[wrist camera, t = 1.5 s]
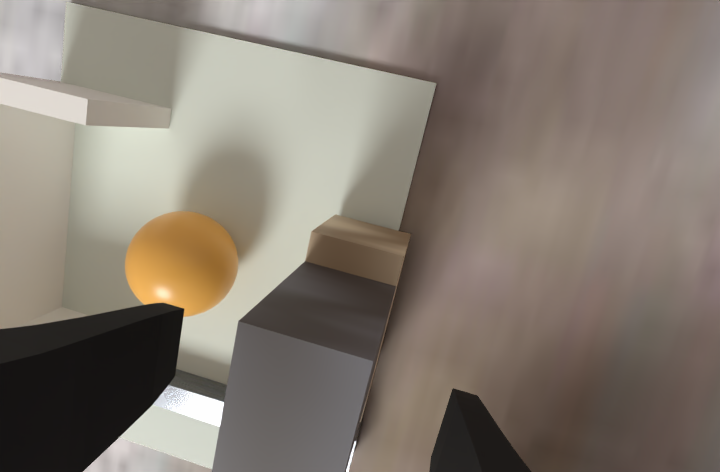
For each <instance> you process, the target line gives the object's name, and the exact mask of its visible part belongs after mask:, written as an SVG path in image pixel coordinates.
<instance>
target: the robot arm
mask: <svg viewBox="0 0 720 472" xmlns="http://www.w3.org/2000/svg"><path fill="white" fill-rule="evenodd" d="M183 316H184V308H180V307H177V306H174V305H170V304H167V303H153V304H146V305H140V306H135V307H130V308H125V309H120V310H115V311H110V312H105V313H100V314H95V315H90V316H85V317H79V318H73V319H68V320H62V321H56V322H50V323H44V324H38V325H31V326H23V327H15V328H5V329H0V472H83V471H84V470H85V469H86V468H87V467H88V466H89V465H90V464H91V463H92V462H93V461H94V460H95V459H97V458H98V457H99V456H100V455H101V454H102V453H103V452H104V451H105V450H106V449H107V448H108V447H109V446H110V445H111V444H112V443H114V442H115V441H116V440H117V439H118V438H119V437H120V436H121V435H122V434H123V433H124V432H125V431H126V430H127V429H128V428H129V427H130V426H132V425H133V424H134V423H135V422H136V421H137V420H138V419H139V418H140V417H141V416H142V415H143V414H144V413H145V412H146V411H147V410H148V409H149V408H150V407H151V406H152V405H153V404H154V402H155V401H156V400H157V399H158V398H159V396H160V395H161V394H162V393H163V391H164V390H165V389H166V388H167V386H168V385H169V384H170V382H171V381H172V380H173V378H174V377H175V373H176V366H177V359H178V352H179V345H180V338H181V331H182V323H183ZM430 472H531V471H530V470H529V468H528V467H527V466H526V465H525V463H524V462H523V461H522V459H521V458H520V457H519V455H518V454H517V453H516V451H515V450H514V449H513V447H512V446H511V444H510V443H509V442H508V440H507V439H506V437H505V436H504V434H503V433H502V431H501V430H500V428H499V427H498V425H497V424H496V422H495V421H494V419H493V418H492V416H491V415H490V413H489V412H488V410H487V409H486V407H485V406H484V404H483V403H482V401H481V400H480V399H479V397H478V396H477V395H473V394H470V393H467V392H463V391H460V390H457V389H452V392H451V396H450V399H449V402H448V405H447V408H446V412H445V415H444V418H443V421H442V424H441V428H440V431H439V434H438V437H437V440H436V444H435V447H434V450H433V453H432V456H431V463H430Z"/></svg>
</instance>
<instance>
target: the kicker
mask: <svg viewBox="0 0 720 472" xmlns="http://www.w3.org/2000/svg"><path fill="white" fill-rule="evenodd" d="M410 236H411V234H409V233H405V232H401V231H397V230H393V229H390V228H386V227H382V226H378V225H374V224H370V223H367V222H363V221H359V220H355V219H351V218H348V217H344V216H340V215H336V214H335V215H334V216H332V217H331V218H329V219H328V220H327V221H325V222H324V223H322V224H321V225H320V226H318V227H317V228H315V229H314V230H313V231H311V235H310V240H309V245H308V250H307V254H306V259H305V262H304V263H302V264H301V265H300V266H299V267H298V268H297V269H296V270H295V271H294V272H292V273H291V274H290V275H289V276H288V277H287V278H286V279H285V280H284V281H282V282H281V283H280V284H279V285H278V286H277V287H276V288H275V289H274V290H272V291H271V292H270V293H269V294H268V295H267V296H266V297H265V298H264V299H262V300H261V301H260V302H259V303H258V304H257V305H256V306H255V307H253V308H252V309H251V310H250V311H249V312H248V313H247V314H246V315H245V316H243V317H242V318H241V319H240V320H239V321H238V326H237V331H236V337H235V343H234V348H233V354H232V360H231V365H230V371H229V377H228V382H227V388H226V394H225V399H224V405H223V411H222V416H221V422H220V428H219V434H218V439H217V445H216V451H215V456H214V462H213V468H212V472H346V470H347V466H348V463H349V459H350V456H351V452H352V449H353V445H354V442H355V438H356V435H357V431H358V428H359V424H360V422H361V419H362V416H363V412H364V409H365V405H366V401H367V398H368V394H369V391H370V387H371V384H372V380H373V377H374V373H375V369H376V366H377V362H378V358H379V354H380V350H381V347H382V343H383V339H384V335H385V331H386V328H387V324H388V320H389V316H390V312H391V309H392V305H393V301H394V297H395V293H396V290H397V286H398V282H399V278H400V274H401V271H402V267H403V263H404V259H405V255H406V252H407V248H408V244H409V240H410Z"/></svg>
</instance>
